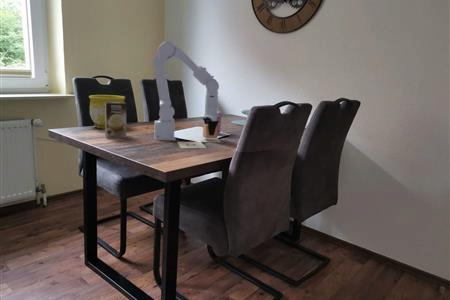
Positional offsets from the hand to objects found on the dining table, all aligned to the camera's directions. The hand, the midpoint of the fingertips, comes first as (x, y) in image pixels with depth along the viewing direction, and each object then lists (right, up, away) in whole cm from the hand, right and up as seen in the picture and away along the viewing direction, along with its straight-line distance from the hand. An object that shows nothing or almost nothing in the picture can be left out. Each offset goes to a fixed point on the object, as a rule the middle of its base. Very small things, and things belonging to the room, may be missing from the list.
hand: (209, 133), depth 161 cm
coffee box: (-44, -2, -1) cm, 44 cm away
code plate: (-8, -6, -11) cm, 15 cm away
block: (0, -2, 0) cm, 2 cm away
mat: (0, -3, +1) cm, 3 cm away
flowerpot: (-56, +5, +22) cm, 60 cm away
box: (+1, +1, +19) cm, 19 cm away
